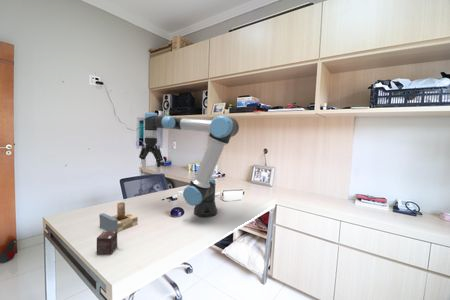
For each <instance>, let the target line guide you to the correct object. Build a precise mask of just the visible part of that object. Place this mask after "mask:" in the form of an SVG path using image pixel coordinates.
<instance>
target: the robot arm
mask: <svg viewBox="0 0 450 300" xmlns="http://www.w3.org/2000/svg"><path fill="white" fill-rule="evenodd" d="M239 128H240V126H239V123H238V121H237V120H236V119H235V118H234V117H231V116H230V117H229V116H227V115H218V116H215V117H213V119H199V118H184V117H173V116H171V115H163V116H162V115H158V113H156V112H145V114H144V133H143V134H144V135H143V136H144V143H143V144H142V145H141V150H140V153H139V155H138V158H139V159H140V160H141V161H140V164H141V170H142V171H144V170H146V169H147V156H148V155H149V153H151V154H152V155H153V157H154V159H155V160H156V161H155V173H159V172H160V170H161V162H162V161H164V158H163V155H162V152H161V147H160V145H157V144H158V129H164V130H168V129H170V130H171V129H172V130H183V131H195V132H205V133H209V134H208V137H209V142H208V144H207V147H206V150H205V152H204V154H203V157H202V159H201V162H200V164H199V166H198V169H197V171H196V174H195V176H193V177H192V178H191V179H190V181H189V184H188V186H186V187H185V188H184V189H183V192H182V196H183V199H184V201H185V202H186V203H187V204H188V205H189V206H193V207H194V208H193V214H194V215H195V216H197V217H199V218H200V217H202V218H209V217H214V216H216V215H217V214H218V208H217V204H216V179H215V178H212V176H213V173H214V171H215V169H216V167H217V164H218V162H219V159H220V157H221V154H222V152H223V150H224V147H225V146H226V145H228V144H229V143H230V140H231V138H232V137H234V136H236V135H237V134H238V132H239Z"/></svg>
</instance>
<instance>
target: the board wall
mask: <svg viewBox="0 0 450 300" xmlns="http://www.w3.org/2000/svg"><path fill="white" fill-rule="evenodd" d="M99 228H101V229H103V230H104V231H110V232H112V231H117V234H118V233H119V232H118V219H116V218H114V217H112V216H111V215H109V214H106V213H99Z"/></svg>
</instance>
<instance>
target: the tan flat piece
mask: <svg viewBox="0 0 450 300" xmlns="http://www.w3.org/2000/svg"><path fill="white" fill-rule="evenodd" d="M111 217H114V218H116V219H118V218H117V214H115V215H112V216H111ZM137 225H138V216H135V215H133V214H130V213H129V212H128V213H127V212H126V211H125V219H124V220H121V221H118V233H120V232H122V231H124V230H126V229H129V228H131V227H133V226H137Z"/></svg>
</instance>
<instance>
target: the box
mask: <svg viewBox="0 0 450 300" xmlns="http://www.w3.org/2000/svg"><path fill="white" fill-rule="evenodd" d="M117 248H118V233H117V231H112V232H110V231H106V230H104V231H102V232H101V233H100V234H98V236H97V237H96V255H98V256H99V255H102V256H103V255H106V256H107V255H113V253H114V251H115V250H116V249H117Z"/></svg>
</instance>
